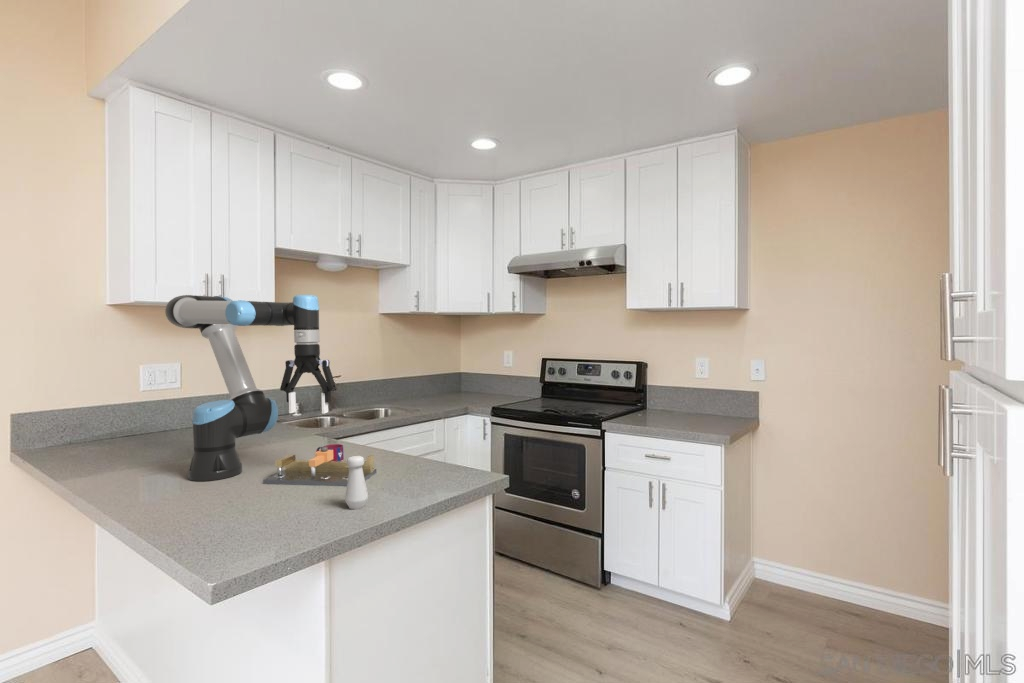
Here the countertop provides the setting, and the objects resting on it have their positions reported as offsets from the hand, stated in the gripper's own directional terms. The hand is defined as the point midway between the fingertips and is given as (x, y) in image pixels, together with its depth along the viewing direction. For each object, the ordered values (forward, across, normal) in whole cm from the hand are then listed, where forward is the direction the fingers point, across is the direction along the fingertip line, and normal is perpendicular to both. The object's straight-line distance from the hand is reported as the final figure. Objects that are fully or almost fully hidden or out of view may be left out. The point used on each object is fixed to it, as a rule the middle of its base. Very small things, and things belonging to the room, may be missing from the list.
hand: (308, 412), depth 164 cm
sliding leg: (+18, +5, -3) cm, 19 cm away
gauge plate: (+20, +6, -4) cm, 21 cm away
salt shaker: (+20, +28, -28) cm, 44 cm away
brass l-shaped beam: (+19, +7, -3) cm, 20 cm away
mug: (+20, +1, +10) cm, 22 cm away
